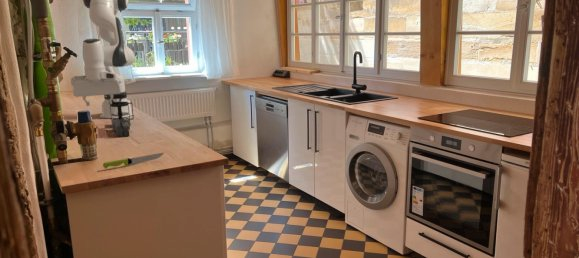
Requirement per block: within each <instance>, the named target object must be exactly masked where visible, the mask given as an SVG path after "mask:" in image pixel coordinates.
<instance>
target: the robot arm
mask: <svg viewBox="0 0 579 258" xmlns="http://www.w3.org/2000/svg"><path fill="white" fill-rule="evenodd" d="M82 3H83V6H85V7H86V8H87V9H89V11H88V12H89V18H90V20H91V22H92V23H93V24H94V25H96V26H97V27H98V34H99V37H100V38H101V40H103V41H105V42H108V44H109V45H103V44H102V41H101V40H100V39H99V38H88V39H84V40H83V41H82V46H81V47H82V49H81V50H82V51H81V52H82V60H83V62H84V63H83V64H84V67H83V68H84V75H75V76H73V77H72V78H70V83H71V85H72V87H73V88H72V90H73V91H72V93H73V96H74V97H75V98H77V97H82V100H83V102H84V103H85V106H86V107H89V106H91V105H90V101H87V97H92V96H93V97H94V96H103V98H104V100H103V102H102V103H101V110H102V113H100V115H99V118H102V119H103V118H104V119H105V118H106V119H111V116H112V115H111V114H113V113H118V108H117V107H111V112H110V104H112V103H113V102H118V99H113V94H120V93H121V92H124V93H127V91H126V85H125V77H123V75H120V73H119V74H118V73H116V72H115V70H114V68H125V67H129V66H132V65H133V64H134V62H135V58H136V57H135V52H134V51H133V50H132V49H131V48H130V47H128V45H126V43H125V36H124V32H123V31H124V30H123V27H122V22H121V17H120V13H122V11H125V10H126V9H127V8H128V5H129V0H82ZM119 82H121V83H119ZM119 102H128V103H130V102H131V101H130V100H129V99H127V98H122V99H119ZM128 105H129V111H128V106H123V107H121V109H122V112H128V115H125V116H122V118H129V116H135V115H136V114H135V112H133V114H132V106H131V104H128ZM116 118H118V116H112V119H116Z"/></svg>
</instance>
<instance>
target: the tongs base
mask: <svg viewBox="0 0 579 258" xmlns="http://www.w3.org/2000/svg"><path fill="white" fill-rule="evenodd" d="M113 119H114V120H112V122H111V128H112V131H113V132H116V133H115V134H116V137H117V138H121V137H124V134H123V131H122V122H127V124H128V127H129V130H131V125H130V124H131V123H130V124H129V117H123V118H121V119H116V118H113Z"/></svg>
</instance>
